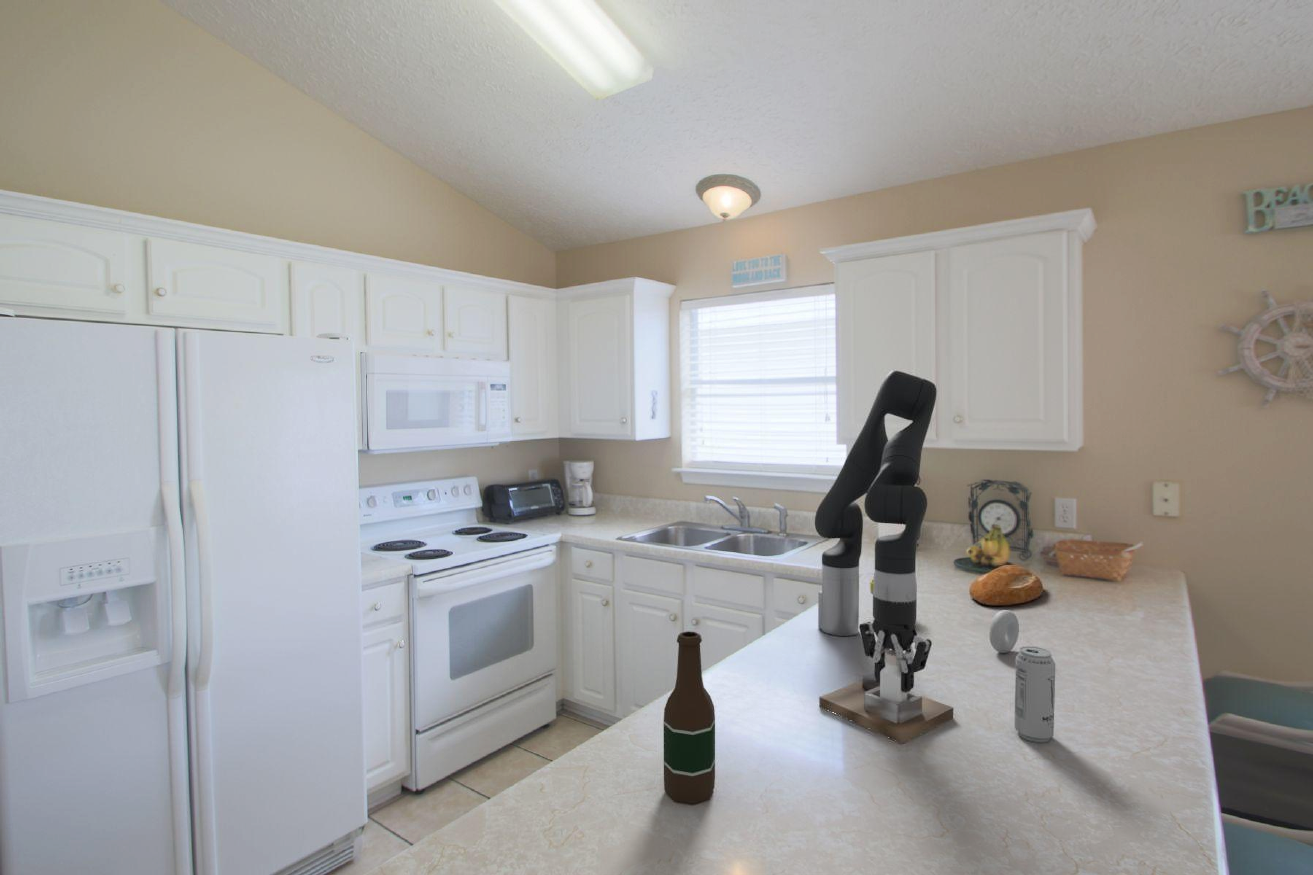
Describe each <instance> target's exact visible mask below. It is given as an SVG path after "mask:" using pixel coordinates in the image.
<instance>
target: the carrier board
mask: <svg viewBox="0 0 1313 875" xmlns="http://www.w3.org/2000/svg"><path fill="white" fill-rule="evenodd" d="M874 674H875V672H868V673H864V674H863V675H862V676H861V677H862V679H861V680H859V681H857V682H854V683H852V684H849V685H846V686H844V687H842V688H839V689H836V690H833V691H830V692H827V693H826V694H823V695H821V696H820V695H819V706H818V708H820V707H822V708H821V709H823V708H824V709H823V710H825V709H826V710H825V711H827V710H829V711H831V712H834V713H836V714H837V715H836V714H835V715H836V716H838V715H840V716H842V717H841V718H843V717H844V718H843V719H845V718H847V719H848V720H847V719H846V720H847V721H849V720H852V721H853V722H852V721H851V722H852V723H854V722H855V723H854V724H856V723H858V724H860V725H859V726H860V727H863V726H865V727H866V728H865V727H864V728H865V729H867V728H870V729H871V730H870V731H872V730H873V731H872V732H874V731H876V732H878V733H880V734H879V735H881V734H882V735H881V736H883V735H884V736H883V737H885V736H886V737H885V738H887V737H889V738H888V739H890V740H892V739H894V740H896V741H897V742H896V741H895V742H896V743H898V742H900V743H899V744H900V745H904V744H906V743H908V742H910V741H911V739H912V740H913V738H914V739H916V738H917V737H919V735H920V734H922V735H924V734H925V732H926V731H927V732H929V731H931V730H933V729H935V728H937V727H939V726H941V725H943V724H945V723H947V722H949V721H951V720H953V719H954V707H952V706H950V705H947V704H945V703H942V702H939V701H937V700H934V699H931V698H928V697H926V696H924V695H921V694H918V693H917V692H916V693H915V692H913V691H912V690H911V691H909V692H907V700H905V701H903V702H901V703H899V704H896V703H893V702H891V701H888V700H886V699H883V698H881V697H880V683H878V682H877V681H876V678H875V675H874ZM829 711H828V712H829ZM831 712H830V713H831ZM834 713H833V714H834ZM840 716H839V717H840ZM948 720H949V721H948ZM946 721H947V722H946ZM942 723H943V724H942ZM858 724H857V725H858ZM940 724H941V725H940ZM936 726H937V727H936ZM932 728H933V729H932ZM930 729H931V730H930ZM876 732H875V733H876ZM927 732H926V733H927ZM878 733H877V734H878ZM923 733H924V734H923ZM920 736H921V735H920ZM915 737H916V738H915ZM894 740H893V741H894ZM909 740H910V741H909ZM907 741H908V742H907ZM905 742H906V743H905ZM903 743H904V744H903Z"/></svg>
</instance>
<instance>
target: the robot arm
mask: <svg viewBox="0 0 1313 875" xmlns="http://www.w3.org/2000/svg"><path fill="white" fill-rule="evenodd" d="M937 392H938V391H937V387H936V385H935V383H934V382H932V381H930V380H927V379H925V378H922V377H919V376H916V375H913V374H911V373H910V374H909V373H906V372H904V371H899V370H891V371H890V372H888V374H887V375H886V376H885V378H884V379H883V381H882V382H881V385H880V387H879V390H878V392H877V393H876V397H875V399H874V401H873V404H872V406H871V408H870V411H869V414H868V416H867V418H866V421H865V422H864V424H863V427H862V429H861V431H860V433H859V435H858V436H857V438H856V439H855V442H854V444H852V445H853V446H851V449H850V451H849V453H848V455H847V457H846V458H845V460H844V464H843V465H842V468H841V470H840V471H839V473H838V475H837V477H836V479H835V480H834V483H833V484H832V486H831V487H830V489H829V491H828V492H827V493H826V495H825V496H824V497H823V499H822V500H821V502H820V504H819V505H818V507H817V510H816V513H815V516H814V527H815V531H816V533H817V534H818V535H819V536H821V537H822V538H824V539H831V540H834V539H839V540H838V542H837V543H836V544H835V545H833V546H832V547H830V548H827V549H826V550H824V551H823V552H822V554H821V590H819V592H818V599H817V600H818V603H817V604H818V609H817V610H818V611H817V612H818V613H817V615H818V616H817V618H818V621H817V624H818V627H817V628H818V629H821V631H823V632H824V633H826V634H829V635H832V636H838V637H839V636H840V637H850V636H856V635H858V633H860V637H861V642H862V646H863V651H864V655H865V656H866V657H870V658H871V659H872V661H873V663H874V673H875V674H874V675H875V678H876V681H877V682H878V683H880V671H881V670H882V669H883V668H884V667H885V651H887V650H893V651H895V652H896V655H897V659H898V660H900V664H901V668H902V672H901V691H902V692H905V693H907V692H909V691H911V692H912V690H913V689H914V686H915V685H914V684H915V673H918V672H920V671H922V670H924V669H925V668H926V665H927V661H928V657H929V655H930V651H931V648H932V644H933V641H932V640H931V639H929V638H927V639H924V638H922V637H921V636H919V635H918V632H917V629H916V622H917V610H918V609H917V608H918V607H917V605H918V604H917V599H918V598H917V597H918V595H917V594H918V593H917V592H918V590H917V589H918V586H917V585H918V583H917V577H916V575H917V574H916V569H917V568H916V566H917V564H916V563H917V562H916V561H917V560H916V558H917V555H916V554H917V544H918V543H917V542H918V538H919V534H920V531H921V527H922V524H923V522H924V519H925V516H926V512H927V508H928V497H927V495H926V493H925V491H924V490H923V489H922V488H921V487H920V486H918V485H917V484H918V482H919V479H920V478H919V477H920V471H921V470H920V469H921V461H922V452H923V447H924V443H925V439H926V436H927V433H928V431H929V426H930V424H931V423H930V422H931V420H932V416H933V412H934V408H935V405H936V402H937V401H936V400H937ZM888 414H889V415H893V416H895V417H898V418H901V419H903V420H906V421H911V423H910V424H908V425H907V426H905V427H904V428H903V429H901V430H900V431H897V433H895V434H894V435H893V436H891V437H890V438H889V437H888V435H887V430H886V420H885V419H886V418H885V417H886V415H888ZM888 438H889V439H888ZM916 485H917V486H916ZM863 496H865V498H864V502H863V503H864V504H863V505H864V506H863V507H864V512H865V514H866V515H867V517H868V519H869V520H871V521H872V522H874V523H879V524H890V525H891V524H893V525H904V526H905V527H904V528H903V529H904V530H902V532H899V533H896V534H890V535H889V534H888V535H882V536H880V537H878V538H877V539H876V540H875V543H874V574H873V577H872V579H873V594H872V618H873V622H871V621H865V622H863V623H861V624H859V623H860V622H859V620H860V619H859V618H860V613H859V612H860V610H859V609H860V608H859V607H860V560H861V559H860V558H861V556H862V549H863V548H862V546H863V545H862V544H863V534H864V532H863V530H864V517H863V511H862V509H861V507H860V505H859V504H858V503H857V502H855V501H857V500H858V499H861V497H863ZM875 635H876V636H875ZM876 638H877V639H876ZM913 643H914V649H915V652H914V649H913Z"/></svg>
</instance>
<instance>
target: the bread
mask: <svg viewBox="0 0 1313 875" xmlns="http://www.w3.org/2000/svg"><path fill="white" fill-rule="evenodd" d="M1043 591H1044V585H1043V582H1042V580H1041V579H1040V578H1039V576H1037V575H1036V574H1035V573H1034V572H1032V571H1030V570H1028V569H1027V568H1025V567H1023V566H1020V565H1017V564H1006V565H1005V564H1004V565H1001V566H999V567H997V568H994V569H993V570H991V571H989V572H987V573H985V574H982V575H980V576H978V577H976V579H974V580H973V582H972V583H971V585H970V587H969V595H970V597H971V598H972V599H973V600H975V601H977V602H978V603H980V604H983V605H986V606H1014V605H1018V604H1019V605H1020V604H1024V603H1025V604H1026V603H1028V602H1030V601H1033V600H1035V599H1038V598H1039V597H1040V596H1041V595H1042V594H1043Z"/></svg>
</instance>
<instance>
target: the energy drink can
mask: <svg viewBox="0 0 1313 875" xmlns="http://www.w3.org/2000/svg"><path fill="white" fill-rule="evenodd" d="M1052 655H1053V654H1052V652H1051V651H1049V650H1048V649H1045V648H1042V647H1038V646H1022V647H1020V648H1019V653H1018V654H1017V655H1016V656H1015V672H1014V674H1015V675H1014V676H1015V677H1014V678H1015V679H1014V718H1013V719H1014V723H1013V724H1014V725H1013V726H1014V729H1015V730H1016V731H1017V734H1018V735H1019V737H1021V738H1022V739H1024V740H1027V741H1030V742H1033V743H1047V742H1049V741H1050V740H1051V738H1053V736H1054V735H1055V734H1054V732H1055V731H1054V730H1055V728H1054V727H1055V699H1056V698H1055V697H1056V696H1055V695H1056V694H1055V691H1056V688H1055V687H1056V662H1055V659H1053V656H1052Z"/></svg>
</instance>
